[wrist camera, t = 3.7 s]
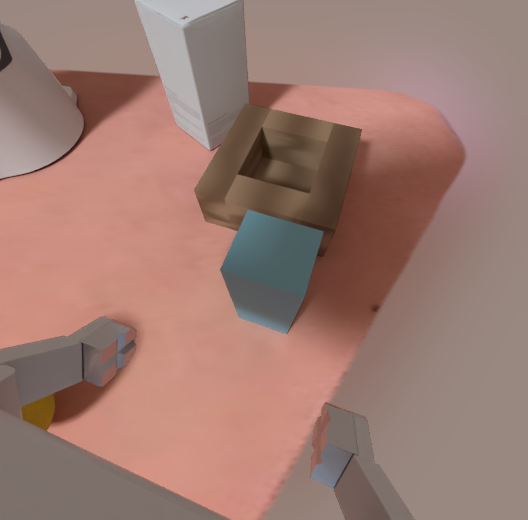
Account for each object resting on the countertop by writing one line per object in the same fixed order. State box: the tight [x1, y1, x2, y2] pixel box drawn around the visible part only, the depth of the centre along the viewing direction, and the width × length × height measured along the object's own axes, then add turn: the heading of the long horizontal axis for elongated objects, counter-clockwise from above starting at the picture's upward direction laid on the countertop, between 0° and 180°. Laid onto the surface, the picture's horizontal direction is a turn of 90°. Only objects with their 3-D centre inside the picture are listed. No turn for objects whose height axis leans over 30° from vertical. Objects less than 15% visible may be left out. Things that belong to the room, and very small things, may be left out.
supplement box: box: [134, 0, 249, 151], centre depth 28 cm, size 7×7×13 cm
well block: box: [194, 103, 362, 256], centre depth 27 cm, size 13×13×5 cm
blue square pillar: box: [220, 210, 324, 334], centre depth 19 cm, size 4×4×11 cm
